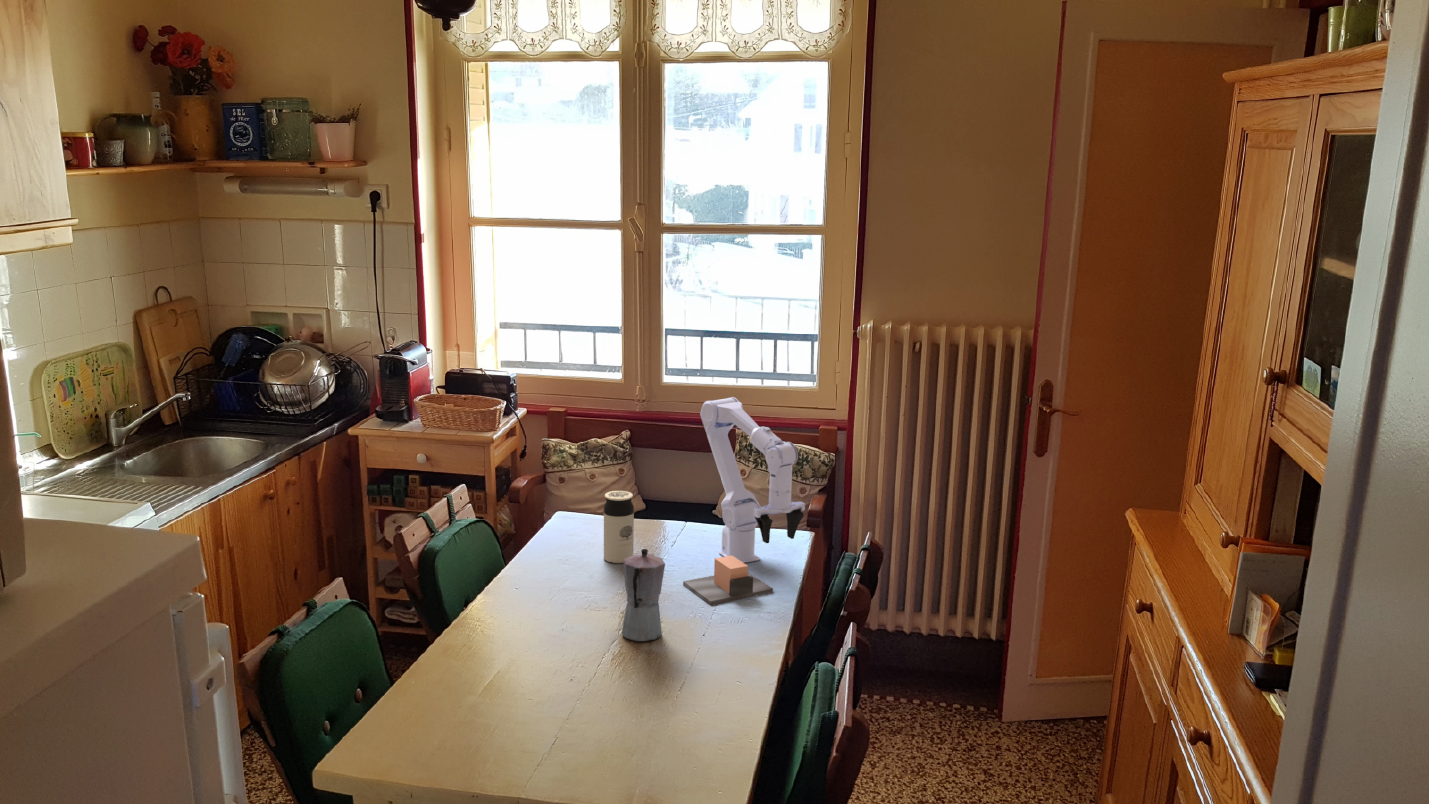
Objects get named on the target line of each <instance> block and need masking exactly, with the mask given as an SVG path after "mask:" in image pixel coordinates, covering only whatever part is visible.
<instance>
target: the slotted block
mask: <svg viewBox="0 0 1429 804" xmlns="http://www.w3.org/2000/svg"><path fill="white" fill-rule="evenodd" d="M713 569H714V570H713V571H714V572H713V573H714V574H713V576H714V583H715V584H716V585H718V586H719V587H721V588H722V589H723V590H725V591H726V592H728V593H729V588H730V580H731V579H736V578H742V577H747V576H748V573H749V566H748V565H747V564H746V563H743V562H741V561H740V560H738V559H737V558H735V557H734V556H732V555H731V556H726V557H724V556H722V557H716V558H714V568H713Z"/></svg>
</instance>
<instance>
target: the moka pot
mask: <svg viewBox="0 0 1429 804" xmlns="http://www.w3.org/2000/svg"><path fill="white" fill-rule="evenodd" d="M640 552H641V554H633V555H632V556H630V557H627V558H625V559H624V560H623V563H622V564H623V575H624V583H625V584H624V585H625V586H624V587H625V592H626V601H627V603H626V607H625V611H624V612H625V613H624V617H623V624H622V629H621V634H622V636H623V637H624V638H626V639H628V640H630V641H635V642H648V641H649V642H650V641H654V640H657V639H659V638H660V637H661V635H662V622H661V621H662V620H661V613H660V604H659V600H660V595H661V593H662V587H663V579H664V575H665V568H666V567H665V566H666V563H665V561H664V559H663V557H660V556H655V555H654V553H648V552H649V550H648V549H646V548H642V549H641V550H640Z"/></svg>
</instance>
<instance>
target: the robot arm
mask: <svg viewBox="0 0 1429 804" xmlns="http://www.w3.org/2000/svg"><path fill="white" fill-rule="evenodd" d="M699 415H700V419H701V422H702V425H703V427H704V430H705V433H706V438H707V440H708V443H709V446H710V449H711V453H712V455H713V459H714V462H715V465H716V467H717V471H718V474H719V476H720V479H721V483H722V487H723V488H724V493H725V497H724V499H723V500H722V501H721V503H720V507H721V511H722V513H721V514H722V516H721V517H722V520H723V523H724V526H723V527H722V532H721V550H720V551H718V554H719V555H721V556H722V557H726V556H731V555H732V556H734V557H735V558H737V559H738V560H740V561H741V562H743V563H744V564H746V563H751V562H756V561H760V560H761V557H760V556H758V555H757V554H755V546H756V545H755V542H756V541H755V540H756V539H755V538H756V527H758V528H759V530H760V535H761V541H762V542H763V543H765V544H770V537H771V535H770V534H771V527H772V524H773V519H771V518H770V516H771V515H772V516H773V515H776V514H777V515H778V514H786V521H787V522H786V523H787V524H786V525H787V526H786V535H787V536H786V537H787V538H789V539H791V540H793V539H794V538H795V535H796V532H797V529H798V527H799V524H800V522H801V521H802V519H804V517H805V516H804V515H805V513H804V512H803V511H805V510H806V502H805V503H804V502H802V501H792V483H793V465H794V464H796V462H797V461H798V457H799V453H798V450H797V447H796V446H795V445H794V444H793V442H791V441H783V440H782V439H781V438H780V437H779V436H777V435H776V434H775V433H774V432H773V431H772V430H771V428H770V427H769V426H767V427H766V426H759V425H758V423H757V422H756V421H754V419H753V418H752V417H751V416H750V415H749V414H748V413H747V412H746V411H745V410H744V407H743V403H742V402H741V401H740V400H739V399H737V398H736V397H734V396H731V397H728V398H722V399H714V400H706V401H704V402H703V403H702V406H701V410H700V412H699ZM734 426H736V427H737V428H739V429H740V430H741V431H742V432H744V433H746V435H748V436H749V437H750V443H751V444H752V445H753V446H754V447H755V448H756V449H757V450H758V451H759V452H760V453H762V454H763V455H764V456H765V457H764V458H765V461H766V464H767V471H768V473H769V487H768V504H766V505H765V504H764V505H763V506H762V505H760V503H759V502H758V500H757V499H756V497H755V494H754V493H753V492H752V491H749V490H747V489H746V488H745V485H744V484H745V483H744V481H743V478H742V475H741V472H740V468H739V466H738V463H737V460H736V457H735V454H734V451H733V450H734V449H733V448H732V445H731V441H730V439H729V436H728V434H729V432H730V431H731V429H733V427H734Z"/></svg>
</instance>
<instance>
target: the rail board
mask: <svg viewBox="0 0 1429 804" xmlns="http://www.w3.org/2000/svg"><path fill="white" fill-rule="evenodd" d="M682 583H683V584H682V585H683V587H685V588H686V589H688V590H689V591H691V592H692V593H693V594H695V595H696V596H697V597H698V598H700V599H701V600H702V601H704V602H705V603H707V605H709V606H711V605H718V604H722V603H726V602H731V601H736V600H742V599H747V598H751V597H756V595H757V596H760V595H765V594H771V593H774V587H771V586H770V585H769V584H768V583H765V582H764V581H763V580H761V579H760V578H758V577H756V576H755V575H753V574H752V573H750V572H748V576H747V577H742V578H736V579H731V580H730V588H729V593H728V592H726V591H725V590H723V589H722V588H721V587H719V586H718V585H716V584H715V583H714V575H710V576H705V577H699V578H693V579H689V580H683V582H682Z"/></svg>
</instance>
